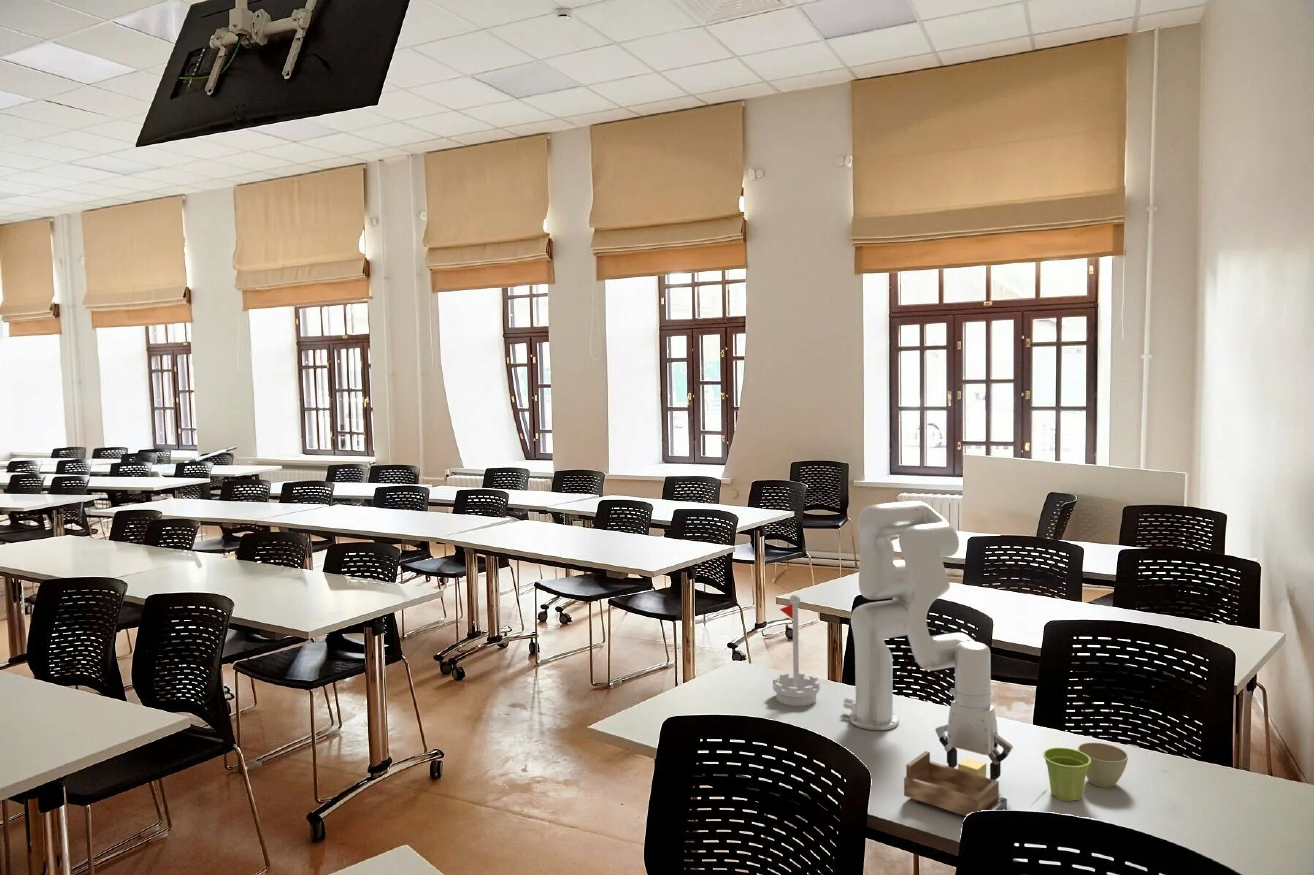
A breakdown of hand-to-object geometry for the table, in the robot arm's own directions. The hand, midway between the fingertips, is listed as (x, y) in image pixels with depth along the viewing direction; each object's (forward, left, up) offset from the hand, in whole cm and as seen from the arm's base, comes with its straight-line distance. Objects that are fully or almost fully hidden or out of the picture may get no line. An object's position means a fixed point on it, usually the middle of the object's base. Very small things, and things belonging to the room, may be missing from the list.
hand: (973, 773), depth 204 cm
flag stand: (-59, +18, -3) cm, 62 cm away
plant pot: (+18, +7, -3) cm, 19 cm away
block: (0, 0, -2) cm, 2 cm away
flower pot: (+22, +18, -3) cm, 28 cm away
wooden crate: (+1, -13, -2) cm, 13 cm away
